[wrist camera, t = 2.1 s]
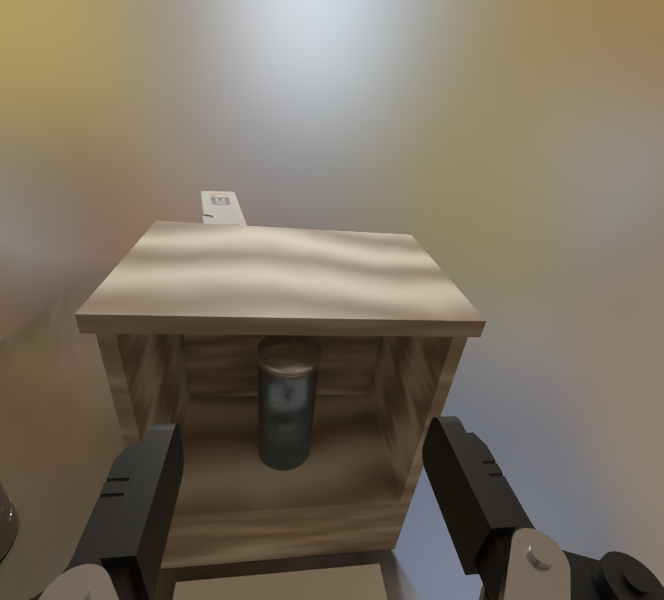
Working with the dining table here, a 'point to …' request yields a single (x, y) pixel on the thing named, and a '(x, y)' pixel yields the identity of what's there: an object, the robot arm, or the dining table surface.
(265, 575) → the tile
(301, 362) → the tin
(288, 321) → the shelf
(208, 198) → the packaging
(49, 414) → the dining table surface
